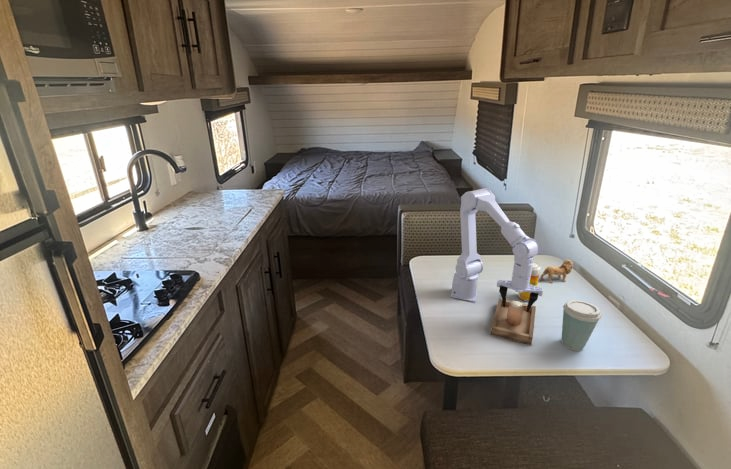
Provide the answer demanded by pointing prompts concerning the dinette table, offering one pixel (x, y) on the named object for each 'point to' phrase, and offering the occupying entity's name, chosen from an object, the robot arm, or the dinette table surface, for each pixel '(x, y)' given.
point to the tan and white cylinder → (515, 313)
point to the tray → (512, 332)
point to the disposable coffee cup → (578, 323)
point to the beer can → (531, 281)
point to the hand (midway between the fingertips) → (515, 308)
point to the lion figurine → (558, 271)
